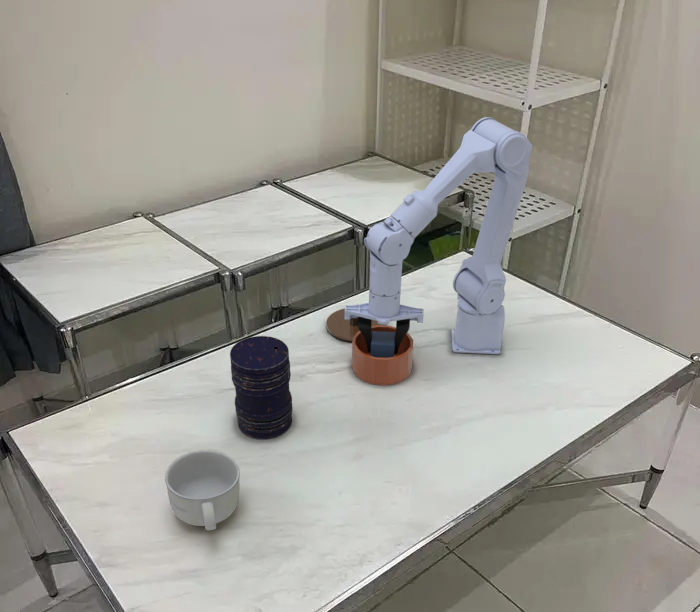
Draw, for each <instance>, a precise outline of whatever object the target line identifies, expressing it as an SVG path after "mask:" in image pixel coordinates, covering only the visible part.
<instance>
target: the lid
mask: <svg viewBox="0 0 700 612" xmlns="http://www.w3.org/2000/svg"><path fill="white" fill-rule="evenodd" d="M325 325H326V329H327V331H328V332H329V333H330V334H331V335H332V336H334V337H336V338H337V339H340V340H343V341H348V342H352V341H353V337H354V336H355V335H356V333H357V332H358V331H360V330H359V328H358V318H351V319H350V320H345V307H344V308H341V309H337V310H336V311H334V312H332V313H331V314H330V315H329V316H328V317H327V318H326V321H325ZM377 325H384V326H387V324H378V321H375V320H372V326H377Z"/></svg>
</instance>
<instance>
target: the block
mask: <svg viewBox="0 0 700 612" xmlns="http://www.w3.org/2000/svg"><path fill="white" fill-rule="evenodd" d="M394 346H395V332H379V331H372V339H371V356H373V357H378V358H390V357H394Z"/></svg>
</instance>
